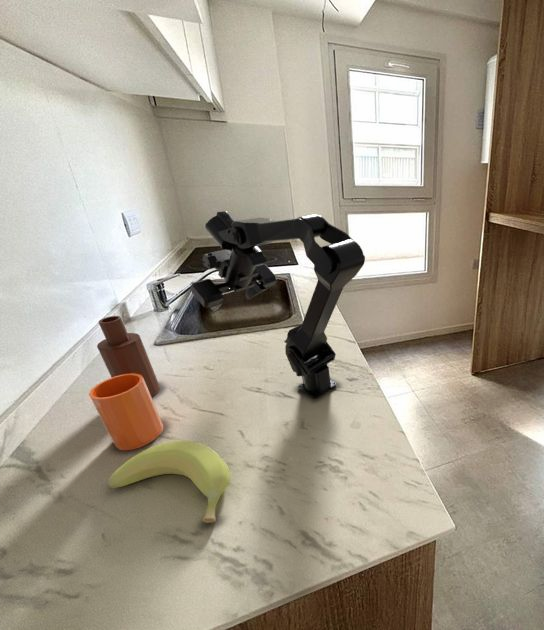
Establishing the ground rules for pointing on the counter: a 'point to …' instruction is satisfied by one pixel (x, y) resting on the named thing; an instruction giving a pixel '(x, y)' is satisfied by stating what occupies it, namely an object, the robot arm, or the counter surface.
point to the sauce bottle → (125, 353)
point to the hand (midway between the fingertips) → (231, 304)
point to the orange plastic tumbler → (127, 411)
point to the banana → (179, 469)
